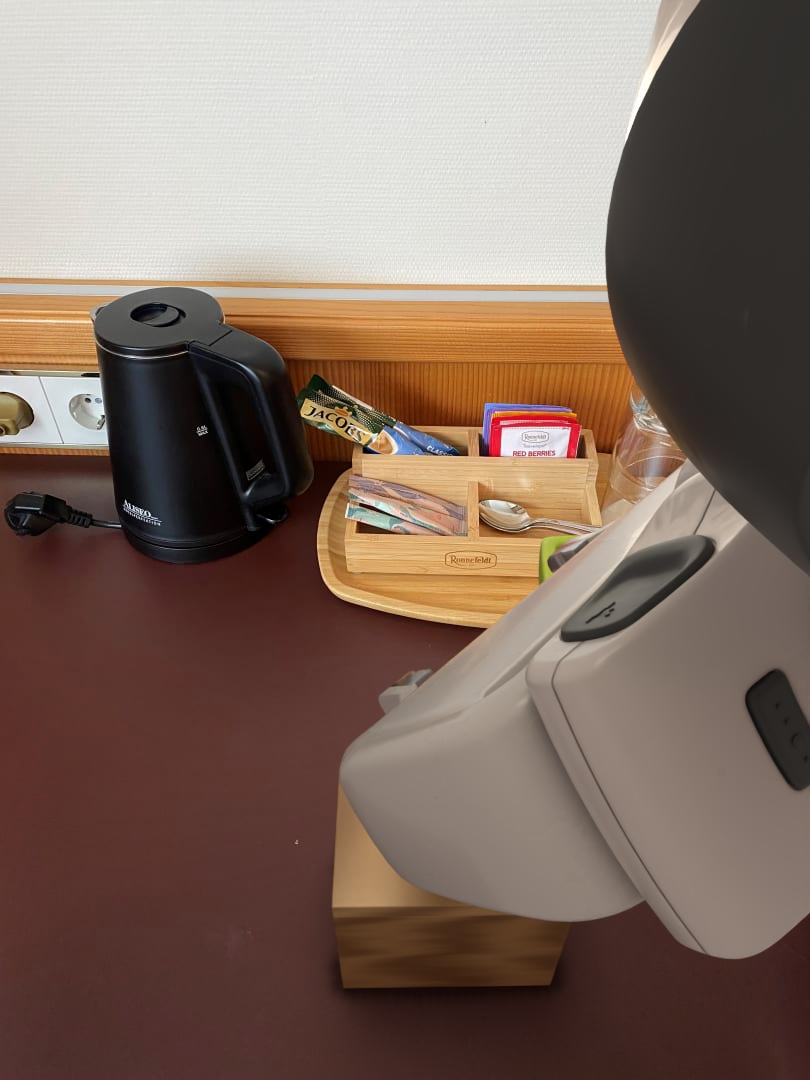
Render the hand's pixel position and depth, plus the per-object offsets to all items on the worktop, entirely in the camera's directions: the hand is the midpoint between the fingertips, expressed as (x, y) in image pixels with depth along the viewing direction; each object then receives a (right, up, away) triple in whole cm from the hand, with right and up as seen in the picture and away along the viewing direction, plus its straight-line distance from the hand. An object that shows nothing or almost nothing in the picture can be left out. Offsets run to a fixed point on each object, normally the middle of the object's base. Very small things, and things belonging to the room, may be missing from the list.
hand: (489, 630), depth 30 cm
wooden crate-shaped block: (-1, -20, +19) cm, 28 cm away
